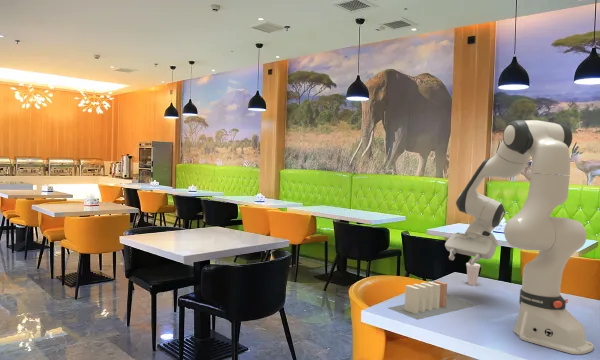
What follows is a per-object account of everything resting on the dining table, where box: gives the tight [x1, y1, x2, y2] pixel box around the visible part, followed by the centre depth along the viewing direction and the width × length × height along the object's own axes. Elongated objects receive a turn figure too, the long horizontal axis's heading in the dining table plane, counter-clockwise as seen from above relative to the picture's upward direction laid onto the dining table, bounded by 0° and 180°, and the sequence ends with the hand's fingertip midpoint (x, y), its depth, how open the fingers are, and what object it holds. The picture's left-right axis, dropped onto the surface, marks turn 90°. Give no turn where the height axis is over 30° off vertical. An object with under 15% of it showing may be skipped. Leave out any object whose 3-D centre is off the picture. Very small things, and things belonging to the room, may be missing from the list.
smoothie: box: [465, 262, 481, 286], centre depth 210 cm, size 6×6×14 cm
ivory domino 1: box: [404, 284, 420, 314], centre depth 162 cm, size 2×5×9 cm, turn 36°
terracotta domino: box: [433, 280, 448, 308], centre depth 172 cm, size 2×5×9 cm, turn 36°
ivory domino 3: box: [419, 282, 434, 311], centre depth 167 cm, size 2×5×9 cm, turn 36°
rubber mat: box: [388, 295, 478, 321], centre depth 170 cm, size 14×36×1 cm, turn 126°
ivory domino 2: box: [412, 283, 427, 312], centre depth 165 cm, size 2×5×9 cm, turn 36°
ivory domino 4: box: [426, 281, 441, 309], centre depth 169 cm, size 2×5×9 cm, turn 36°
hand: (460, 261), depth 179 cm, fingers open, 8 cm apart
